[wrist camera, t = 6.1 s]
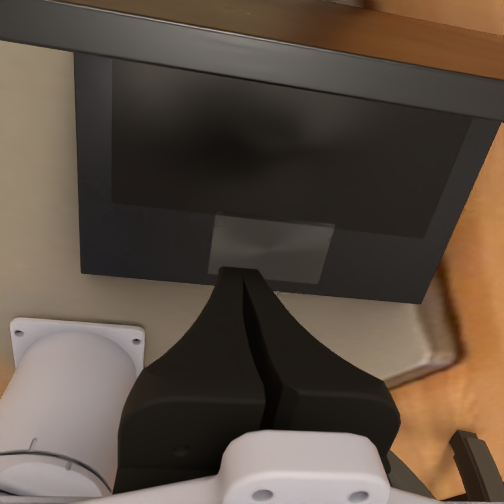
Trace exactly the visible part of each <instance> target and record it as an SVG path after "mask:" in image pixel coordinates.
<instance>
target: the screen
mask: <svg viewBox="0 0 504 504" xmlns="http://www.w3.org/2000/svg"><path fill="white" fill-rule="evenodd" d="M0 40H2V41H8V42H14V43H20V44H26V45H32V46H38V47H44V48H50V49H57V50H63V51H69V52H75V53H81V54H87V55H93V56H99V57H105V58H112V59H118V60H124V61H130V62H136V63H142V64H148V65H154V66H160V67H166V68H173V69H179V70H185V71H191V72H197V73H203V74H209V75H215V76H221V77H228V78H234V79H240V80H246V81H252V82H258V83H264V84H270V85H276V86H283V87H289V88H295V89H301V90H307V91H313V92H319V93H325V94H331V95H337V96H344V97H350V98H356V99H362V100H368V101H374V102H380V103H386V104H392V105H399V106H405V107H411V108H417V109H423V110H429V111H435V112H441V113H447V114H454V115H460V116H466V117H472V118H478V119H484V120H490V121H496V122H502V123H504V36H500V35H495V34H490V33H485V32H480V31H475V30H470V29H465V28H460V27H454V26H449V25H444V24H439V23H434V22H429V21H424V20H419V19H414V18H409V17H404V16H399V15H394V14H388V13H383V12H378V11H373V10H368V9H363V8H358V7H353V6H348V5H343V4H338V3H333V2H328V1H322V0H0Z"/></svg>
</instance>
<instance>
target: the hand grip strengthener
mask: <svg viewBox="0 0 504 504" xmlns="http://www.w3.org/2000/svg"><path fill="white" fill-rule="evenodd" d="M450 444H451V446H452V449H453V451H454V453H455V455H454V460H455V463H456V465H457V468H458V470H459V473H460V476H461V479H462V482H463V485H464V488H465V491H466V494H467V497H468V500H469V502H504V483H503V481H502V478H501V476H500V474H499V471H498V469H497V466H496V464H495V462H494V460H493V458H492V455H491V453H490V451H489V449H488V447H487V445H486V443H485V441H483V440H480V439H478V437H477V435H476V434H475V433H470V432H465V431H460V430H458V431H457V432H456V434H455V435H454V437H453V438H452V439H451V441H450ZM387 458H388V460H389V463H390V466H391V472H390V474H388V476H389V478H390V481H391V484H392V487H393V488H396V489H400V490H403V491H407V492H410V493H414V494H418V495H421V496H425V497H428V498H432V499H435V500H436V498H435V497H434V496H433V495H432V494H431V492H430V491H429V490H428V489H427V488H426V487H425V485H424V484H423V483H422V482H421V481H420V480H419V479H418V478H417V476H416V475H415V474H414V473H413V472H412V471H411V470H410V469H409V468H408V467H407V466H406V465H405V464H404V463H403V462H402V461H401V460H400V459H399V458H398V457H397V456H396V455H395V454H394V453H393V452H392V451H391V450H389V452H388V454H387Z"/></svg>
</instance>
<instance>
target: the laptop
mask: <svg viewBox="0 0 504 504" xmlns="http://www.w3.org/2000/svg"><path fill="white" fill-rule="evenodd" d="M74 80H75V111H76V141H77V172H78V202H79V233H80V263H81V273H82V274H92V275H103V276H114V277H125V278H136V279H147V280H158V281H169V282H180V283H191V284H202V285H213V286H215V285H216V282H217V276H218V269H219V268H220V267H222V266H226V267H238V268H249V269H258V270H259V272H260V273H261V274H262V276H263V277H264V279H265V280H266V282H267V283H268V285H269V286H270V288H271V289H272V291H279V292H290V293H301V294H312V295H323V296H334V297H345V298H356V299H367V300H378V301H389V302H400V303H411V304H421V303H422V301H423V299H424V296H425V294H426V292H427V290H428V287H429V285H430V283H431V281H432V278H433V276H434V274H435V271H436V269H437V267H438V265H439V262H440V260H441V258H442V256H443V253H444V251H445V249H446V247H447V244H448V242H449V240H450V237H451V235H452V233H453V231H454V228H455V226H456V224H457V222H458V219H459V217H460V215H461V213H462V210H463V208H464V206H465V204H466V201H467V199H468V197H469V194H470V192H471V190H472V188H473V185H474V183H475V181H476V179H477V176H478V174H479V172H480V170H481V167H482V165H483V163H484V160H485V158H486V156H487V154H488V151H489V149H490V147H491V145H492V142H493V140H494V138H495V136H496V133H497V131H498V129H499V126H500V124H501V122H496V121H490V120H484V119H478V118H472V117H466V116H460V115H454V114H447V113H441V112H435V111H429V110H423V109H417V108H411V107H405V106H399V105H392V104H386V103H380V102H374V101H368V100H362V99H356V98H350V97H344V96H337V95H331V94H325V93H319V92H313V91H307V90H301V89H295V88H289V87H283V86H276V85H270V84H264V83H258V82H252V81H246V80H240V79H234V78H228V77H221V76H215V75H209V74H203V73H197V72H191V71H185V70H179V69H173V68H166V67H160V66H154V65H148V64H142V63H136V62H130V61H124V60H118V59H112V58H105V57H99V56H93V55H87V54H81V53H75V52H74Z"/></svg>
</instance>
